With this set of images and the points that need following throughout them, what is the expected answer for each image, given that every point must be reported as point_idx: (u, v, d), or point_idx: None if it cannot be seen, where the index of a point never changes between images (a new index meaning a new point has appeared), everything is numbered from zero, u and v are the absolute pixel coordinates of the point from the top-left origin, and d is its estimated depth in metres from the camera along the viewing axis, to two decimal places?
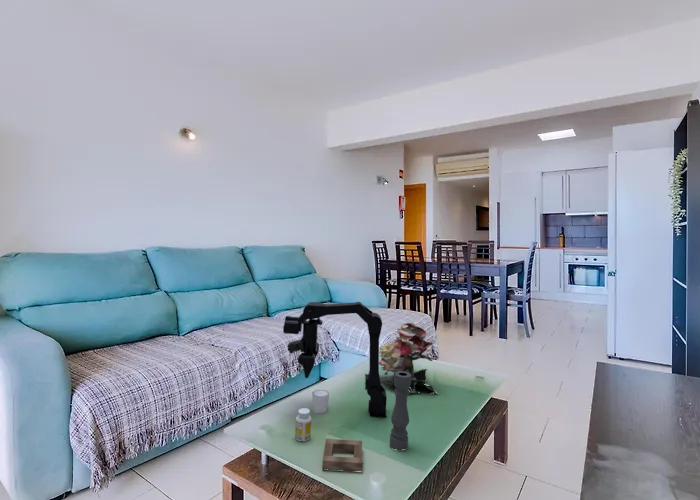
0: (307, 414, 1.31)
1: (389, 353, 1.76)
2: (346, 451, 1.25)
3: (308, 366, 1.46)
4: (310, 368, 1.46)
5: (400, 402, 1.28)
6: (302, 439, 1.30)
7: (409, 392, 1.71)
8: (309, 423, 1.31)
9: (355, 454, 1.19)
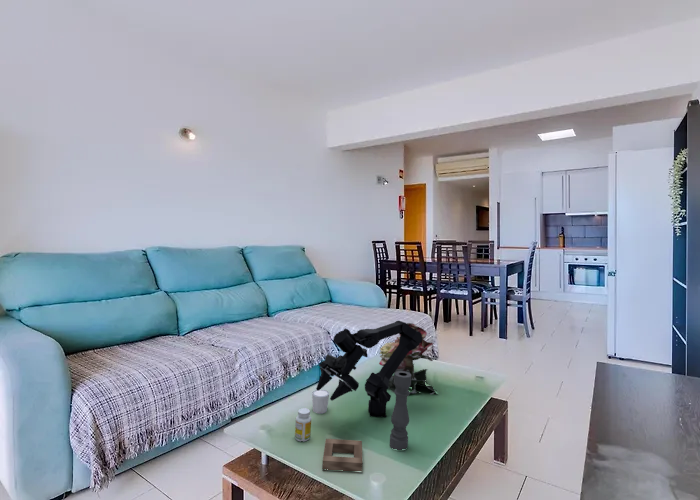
0: (307, 414, 1.31)
1: (389, 353, 1.76)
2: (346, 451, 1.25)
3: (342, 390, 1.34)
4: (343, 393, 1.34)
5: (400, 401, 1.28)
6: (302, 439, 1.30)
7: None
8: (309, 423, 1.31)
9: (355, 454, 1.19)
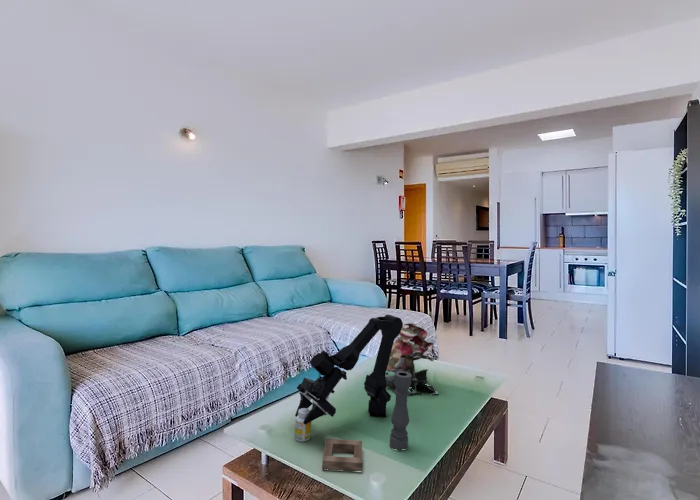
0: (307, 414, 1.31)
1: None
2: (346, 451, 1.25)
3: (316, 413, 1.30)
4: (316, 416, 1.30)
5: (400, 402, 1.28)
6: (302, 439, 1.30)
7: (410, 392, 1.71)
8: (309, 423, 1.31)
9: (355, 454, 1.19)
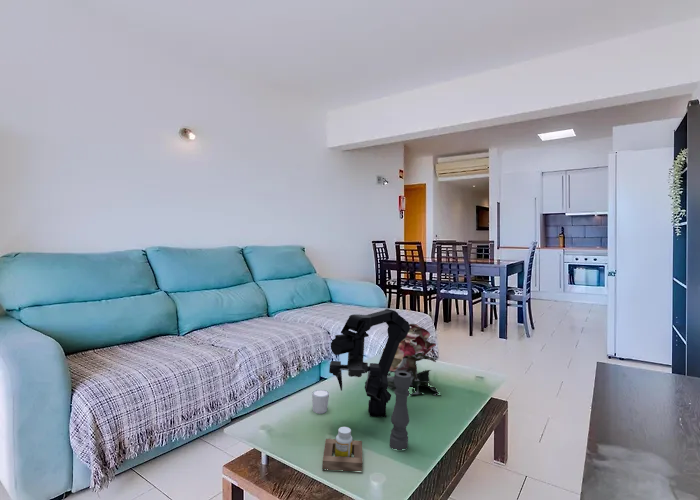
0: (350, 432, 1.21)
1: None
2: None
3: None
4: None
5: (400, 401, 1.28)
6: None
7: (413, 393, 1.70)
8: None
9: (355, 454, 1.19)
